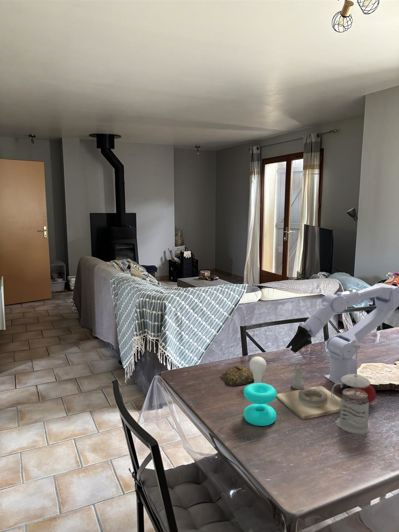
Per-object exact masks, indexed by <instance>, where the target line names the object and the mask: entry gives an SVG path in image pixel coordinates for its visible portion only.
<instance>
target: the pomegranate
mask: <svg viewBox="0 0 399 532" xmlns="http://www.w3.org/2000/svg"><path fill="white" fill-rule="evenodd" d="M356 389H359V390H362V391H364V392H366V393H367V394H368V399H369V404H370V403H373V402H374V401H375V399H376V396H377V394H376V390H375V387H374V386H372V385H371V384H370V385H369V386H368V387H365V388H357V387H356ZM360 402H362V403H363V404H365V403H364V402H363V401H362V400H360Z"/></svg>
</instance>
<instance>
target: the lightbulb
mask: <svg viewBox="0 0 399 532" xmlns="http://www.w3.org/2000/svg"><path fill="white" fill-rule="evenodd" d="M248 365H249V366H248V367H249V370H251V371H252V373H253V378H254V382H253V383H262V380H263V375H264V373H265V371H266V369H267V362H266V360H265V359H264V358H263V357H262V356H254V357H252V358H251V359H250V361H249V364H248Z"/></svg>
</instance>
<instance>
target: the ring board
mask: <svg viewBox="0 0 399 532" xmlns="http://www.w3.org/2000/svg"><path fill="white" fill-rule="evenodd" d="M333 394H334V393H332V397H331V390H329V389H326V388H325V387H324V386H322V385H318V386H313V387H307V388H303V389H295V390H291V391H285V392H280V393H277V396H276V398H277V399H278V400H279V401H281V402H282V403H283V404H284V405H285V406H287V408H288V409H289V410H291V411H292V412H293V413H294V414H296V415H297V416H298V417H299V418H300V419H302V420H307V419H312V418H317V417H321V416H327V415H330V414H335V413H340V407H341V404H339V403H341V398H340V397H339V396H337V395H335V394H334V397H335V399H336V400H337V401H338V402H339V403H338V402H337V401H336V400H335V399H334V397H333ZM332 398H333V400H334V402H335V403H336V404H338V405H339V406H340V407H339V406H338V405H336V404H335V403H334V402H333V400H332ZM347 407H349V406H346V408H347ZM349 409H350V410H352V408H349Z"/></svg>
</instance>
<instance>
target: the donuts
mask: <svg viewBox="0 0 399 532" xmlns="http://www.w3.org/2000/svg"><path fill="white" fill-rule="evenodd" d="M277 394H278V393H277V389H275V387H274V386H273V385H271V384H268V383H265V382H261V383H254V382H252V383H249V384H248V385H247V386H245V387H244V389H243V396H244V398H245V399H246V400H247V401H249V402H250V403H252V404H249V405H248V406H246V407H245V408H244V410H243V416H244V419H245V421H246V422H248V423H249V424H251V425H254V426H259V427H262V426H263V427H265V426H270V425H271V424H273V423H275V421H276V420H277V412H276V410H275V409H274V408H273V407H272V406H271V405H270V404H271V403H273V402H274V401H275V400H276V398H277V397H276V396H277ZM268 404H269V405H268Z"/></svg>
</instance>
